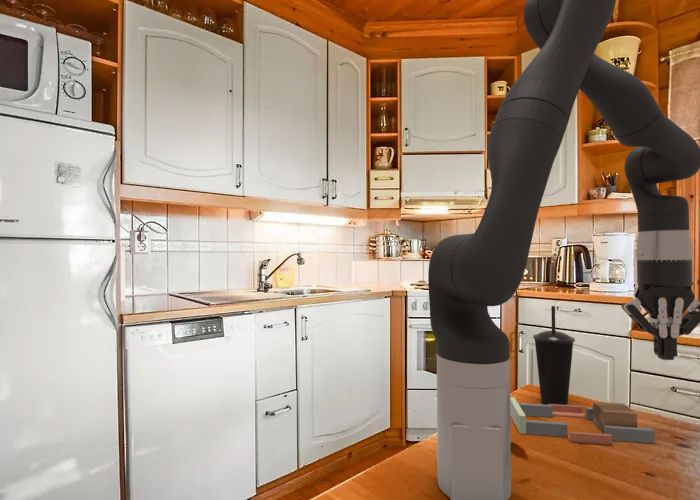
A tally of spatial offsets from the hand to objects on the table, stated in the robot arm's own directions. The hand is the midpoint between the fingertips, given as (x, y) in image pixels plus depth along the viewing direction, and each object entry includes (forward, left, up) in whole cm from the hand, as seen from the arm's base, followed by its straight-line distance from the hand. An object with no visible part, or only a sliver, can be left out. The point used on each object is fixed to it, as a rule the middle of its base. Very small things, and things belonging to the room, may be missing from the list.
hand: (665, 358), depth 70 cm
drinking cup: (+11, +15, -13) cm, 23 cm away
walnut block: (0, +8, -13) cm, 15 cm away
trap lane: (0, +14, -13) cm, 19 cm away
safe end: (0, +24, -13) cm, 27 cm away
